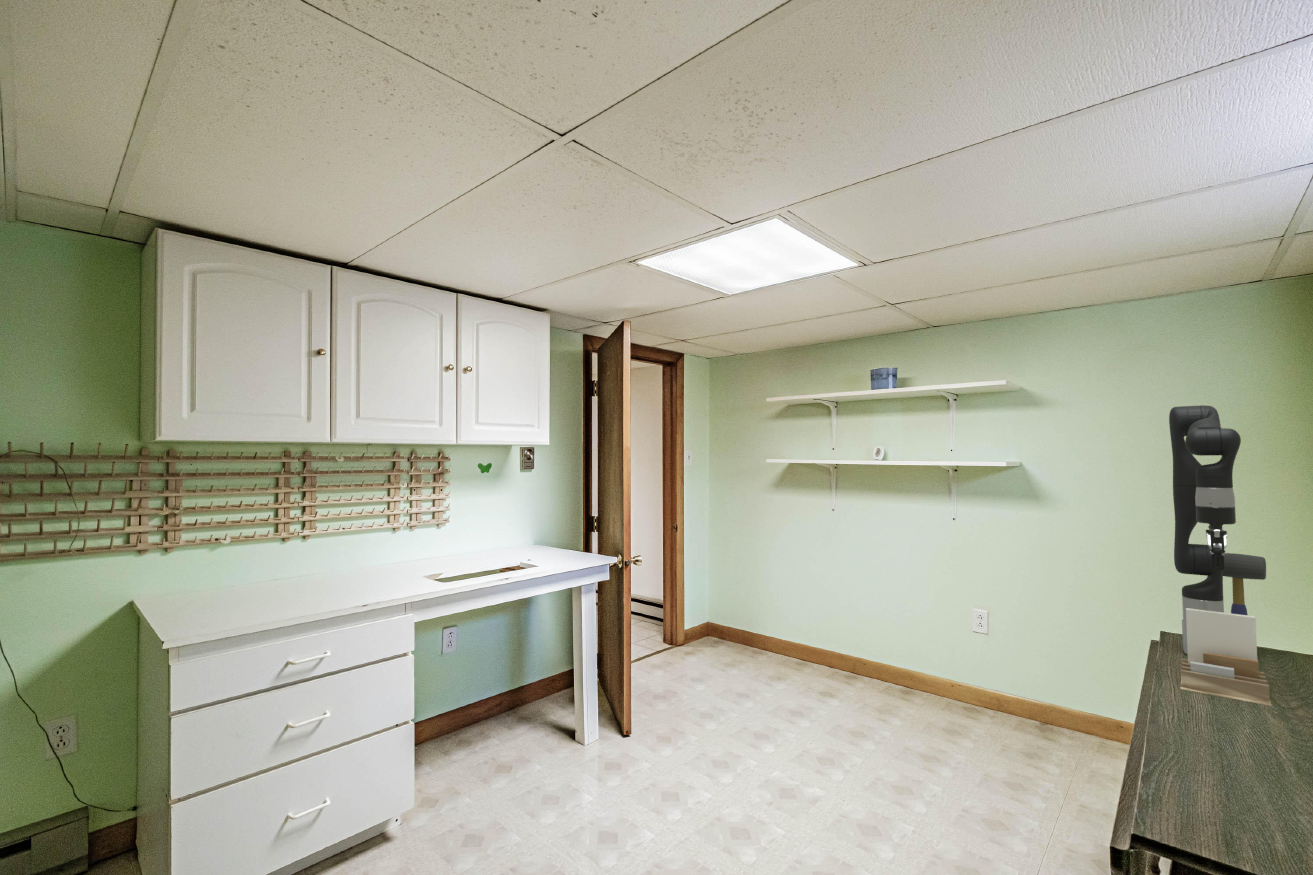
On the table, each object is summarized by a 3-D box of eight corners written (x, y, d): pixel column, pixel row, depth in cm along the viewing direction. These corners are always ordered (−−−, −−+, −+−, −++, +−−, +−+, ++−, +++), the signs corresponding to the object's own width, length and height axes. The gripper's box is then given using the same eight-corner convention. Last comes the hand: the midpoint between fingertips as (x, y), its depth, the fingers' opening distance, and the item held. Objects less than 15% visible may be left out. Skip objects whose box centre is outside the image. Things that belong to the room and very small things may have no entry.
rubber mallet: (1271, 654, 179) (1266, 554, 180) (1268, 660, 174) (1264, 557, 175) (1215, 645, 188) (1211, 550, 189) (1211, 649, 183) (1207, 552, 185)
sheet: (1188, 676, 158) (1185, 607, 158) (1258, 688, 149) (1254, 616, 150) (1188, 678, 156) (1185, 609, 157) (1258, 690, 147) (1255, 617, 148)
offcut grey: (1191, 684, 152) (1190, 660, 152) (1234, 692, 146) (1233, 668, 147) (1191, 686, 150) (1190, 662, 150) (1235, 695, 145) (1234, 670, 145)
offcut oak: (1204, 682, 153) (1202, 651, 153) (1259, 692, 146) (1257, 660, 146) (1204, 685, 151) (1203, 653, 152) (1260, 695, 145) (1258, 662, 145)
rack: (1181, 676, 161) (1180, 656, 161) (1265, 691, 150) (1264, 670, 150) (1180, 693, 149) (1179, 672, 149) (1272, 711, 138) (1271, 688, 139)
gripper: (1195, 502, 162) (1197, 562, 162) (1195, 505, 152) (1198, 569, 151) (1233, 504, 157) (1236, 565, 157) (1236, 507, 147) (1239, 573, 146)
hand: (1217, 567), depth 154 cm, fingers open, 8 cm apart
